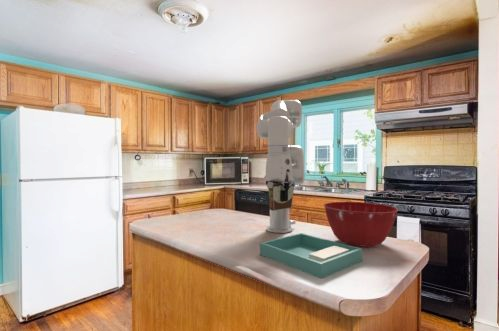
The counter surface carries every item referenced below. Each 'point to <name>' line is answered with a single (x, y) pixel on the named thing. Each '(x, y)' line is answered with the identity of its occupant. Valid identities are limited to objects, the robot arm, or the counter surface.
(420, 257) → the counter surface
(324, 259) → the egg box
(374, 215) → the mixing bowl
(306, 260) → the tray
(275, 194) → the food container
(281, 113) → the robot arm
